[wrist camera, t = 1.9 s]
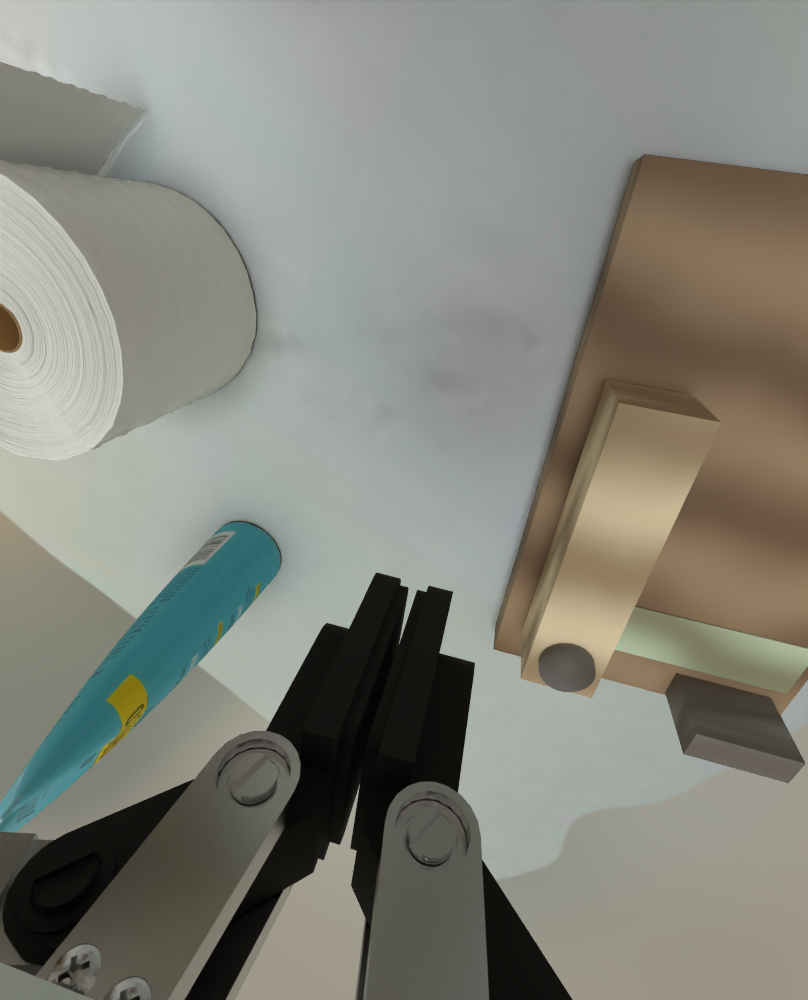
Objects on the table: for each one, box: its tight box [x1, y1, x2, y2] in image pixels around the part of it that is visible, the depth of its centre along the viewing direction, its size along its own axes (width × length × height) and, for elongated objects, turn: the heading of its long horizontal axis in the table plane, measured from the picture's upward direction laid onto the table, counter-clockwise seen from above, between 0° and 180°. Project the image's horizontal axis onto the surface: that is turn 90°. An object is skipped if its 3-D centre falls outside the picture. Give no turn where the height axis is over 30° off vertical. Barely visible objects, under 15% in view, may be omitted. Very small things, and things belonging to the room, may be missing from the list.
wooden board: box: [494, 154, 808, 783], centre depth 22 cm, size 25×16×6 cm, turn 172°
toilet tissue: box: [0, 62, 257, 461], centre depth 22 cm, size 11×12×10 cm
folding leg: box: [521, 380, 722, 698], centre depth 23 cm, size 15×4×4 cm, turn 172°
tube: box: [0, 522, 281, 833], centre depth 25 cm, size 7×5×19 cm, turn 147°
